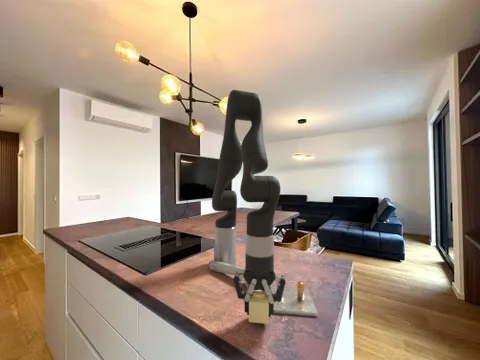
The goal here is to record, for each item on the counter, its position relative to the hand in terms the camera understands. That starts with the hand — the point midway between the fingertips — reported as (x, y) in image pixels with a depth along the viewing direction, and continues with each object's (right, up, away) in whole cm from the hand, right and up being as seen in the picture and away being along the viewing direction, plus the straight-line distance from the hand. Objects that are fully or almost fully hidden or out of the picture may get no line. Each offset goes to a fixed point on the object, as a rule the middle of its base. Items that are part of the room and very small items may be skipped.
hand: (259, 313), depth 55 cm
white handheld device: (-8, -3, +25) cm, 27 cm away
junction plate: (+9, -2, +10) cm, 13 cm away
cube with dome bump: (0, -1, 0) cm, 1 cm away
